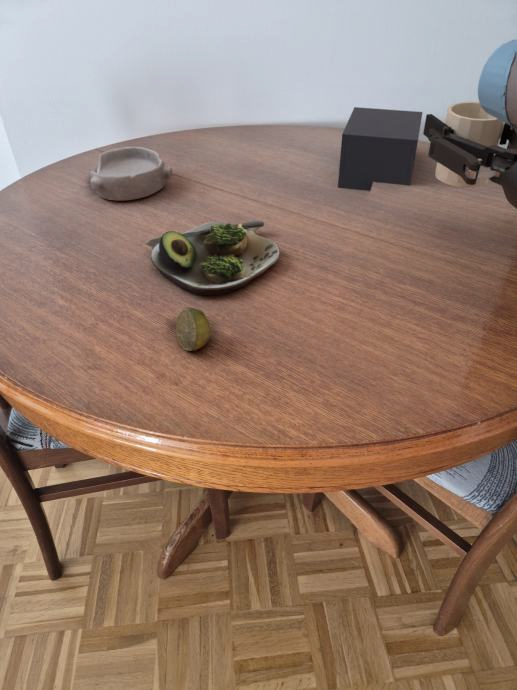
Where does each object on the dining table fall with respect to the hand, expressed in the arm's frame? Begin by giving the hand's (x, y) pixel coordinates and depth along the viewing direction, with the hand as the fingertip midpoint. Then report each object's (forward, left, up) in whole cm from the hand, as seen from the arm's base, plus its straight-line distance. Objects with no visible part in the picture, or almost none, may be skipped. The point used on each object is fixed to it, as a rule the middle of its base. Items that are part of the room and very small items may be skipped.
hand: (454, 121), depth 77 cm
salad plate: (+31, +19, -17) cm, 40 cm away
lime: (+27, +37, -17) cm, 49 cm away
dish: (+54, -2, -17) cm, 56 cm away
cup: (-2, +4, -6) cm, 8 cm away
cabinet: (+11, -18, -16) cm, 26 cm away
